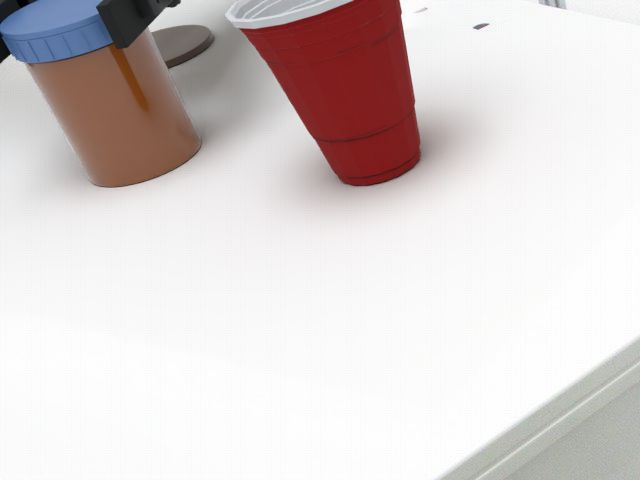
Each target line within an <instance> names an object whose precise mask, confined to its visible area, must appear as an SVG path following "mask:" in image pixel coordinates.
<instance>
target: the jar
mask: <svg viewBox="0 0 640 480" xmlns="http://www.w3.org/2000/svg"><path fill="white" fill-rule="evenodd" d="M151 32H152V31H151V29H150V28H149V26H148V27H147V28H146V29H145V30H144V31H143V32H142V33H141V34H140V35H139V36H138V37H137V38H136V39H135V41H134V42H133V43H132V44H131V45H130V46H129V47H128V48H123V49H116V47H115V45H114V43H110V44H108V45H106V46H103V47H101V48H98V49H95V50H93V51H90V52H87V53H84V54H80V55H77V56H74V57H70V58H66V59H61V60H56V61H50V62H42V63H25V62H22V63H23V64H24V66H25V68H26V70H27V71H28V73H29V75H30V77H31V79H32V80H33V83H34V84H35V86H36V88H37V89H38V91H39V93H40V95H41V97H42V98H43V101H44V102H45V104H46V106H47V108H48V110H49V111H50V113H51V115H52V116H53V118H54V120H55V122H56V123H57V126H58V127H59V129H60V131H61V133H62V134H63V136H64V138H65V140H66V142H67V143H68V145H69V147H70V149H71V150H72V152H73V155H74V156H75V158H76V159H77V161H78V163H79V165H80V166H81V168H82V171H83V172H84V173H85V175H86V177H87V179H88V180H89V182H90V183H91V184H93V185H95V186H98V187H104V188H116V187H125V186H131V185H134V184H139V183H142V182H145V181H149V180H151V179H154V178H158V177H159V176H162V175H164V174H167V173H169V172H170V171H173V170H175V169H176V168H178V167H180V166H181V165H184V164H185V163H186V162H187V161H189V160H190V159H191V158H193V157H194V155H196V153H198V151H199V150H200V149H201V146H202V137H201V135H200V134H199V132H198V130H197V127H196V125H195V123H194V120H193V119H192V116H191V115H190V113H189V110H188V108H187V106H186V104H185V102H184V100H183V98H182V95H181V94H180V91H179V89H178V88H177V85H176V83H175V81H174V78H173V76H172V75H171V72H170V70H169V68H167V66H166V64H165V61H164V59H163V57H162V55H161V53H160V51H159V49H158V47H157V44H156V42H155V40H154V38H153V36H152V34H151Z"/></svg>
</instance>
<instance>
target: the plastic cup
mask: <svg viewBox="0 0 640 480" xmlns="http://www.w3.org/2000/svg"><path fill="white" fill-rule="evenodd" d="M402 14H403V10H402V5H401V0H237V1H235V2H234V3H232V4H231V5H230V7H229V8H228V10H227V11H226V12H225V13H224V16H225V18H226V19H227V20H228V21H229V23H230V24H231V25H232V26H233V27H234V28H236V29H239V31H241V33H242V34H244V36H245V37H246V39H247V40H248V42H249V43H251V45H252V46H253V47H254V48H255V49H256V51H257V53H258V55H259V56H260V57H261V58H262V60H263V61H264V62H265V63H266V65H267V66H268V68H269V69H270V72H271V73H272V75H273V76H274V78H275V79H276V81H277V83H278V84H279V86H280V87H281V88H280V89H282V91H283V92H284V94H285V96H286V97H287V99H288V101H289V102H290V104H291V106H292V107H293V109H294V111H295V112H296V114H297V116H298V117H299V119H300V120H301V122H302V124H303V126H304V127H305V129H306V130H307V132H308V134H309V135H310V136H311V137H312V139H313V140H314V141H315V143H316V145H317V146H318V148H319V150H320V152H321V153H322V155H323V156H324V159H325V160H326V162H327V164H328V166H329V167H330V169H331V170H332V172H334V173H335V175H336V176H337V177H338V179H339V180H340V181H341V183H344V184H347V185H350V186H368V185H374V184H379V183H384V182H386V181H389V180H392V179H393V178H394V179H395V178H397V177H399V176H401V175H403V174H404V173H406V172H408V171H409V170H411V169H412V168H413V167H414V166H415V165H416V164H417V163H418V162H419V161H420V159H421V137H420V130H419V125H418V124H419V123H418V119H417V112H416V106H415V105H416V97H415V91H414V85H413V78H412V73H411V72H412V71H411V66H410V59H409V54H408V49H407V43H406V37H405V31H404V24H403V18H402Z"/></svg>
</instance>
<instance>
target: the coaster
mask: <svg viewBox="0 0 640 480" xmlns="http://www.w3.org/2000/svg"><path fill="white" fill-rule="evenodd" d="M150 32H151V34H152V36H153V38H154V40H155V42H156V44H157V47H158V49H159V51H160V53H161V55H162V57H163V59H164V61H165V64H166V66H167V68H168V69H170V68H173V67H176V66H178V65H180V64H183V63H185V62H187V61H189V60H191V59H192V58H194V57H196V56H198V55H199V54H201V53H202V52H203V51H205V50H206V49H207V48H208V47H209V46H210V45H211V44H212V42H213V39H214V36H213V33H212V32H211V29H210V28H208V26H206V25H200V24H182V25H177V26H176V25H175V26H170V27H165V28H162V29H158V30H154V31H150Z"/></svg>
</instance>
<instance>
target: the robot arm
mask: <svg viewBox="0 0 640 480" xmlns="http://www.w3.org/2000/svg"><path fill="white" fill-rule="evenodd" d="M36 1H38V0H0V24H1V23H2V22H3V21H4V20H5V19H6V18H7V17H8V16H10V15H11V14H13V13H14V12H16V11H18V10H19V9H21V8H23V7H25V6H27V5H29V4H31V3H33V2H36ZM181 3H182V0H103V1H102V2H100V3H99V4H98V5H97V6H96V9H97V11H98V13H99V15H100V17H101V19H102V21H103V23H104V25H105V27H106V29H107V31H108V33H109V35H110V37H111V39H112V41H113V43H114V45H115V47H116V49H123V48H128V47H129V46H130V45H131V44H132V43H133V42H134V41H135V39H136V38H137V37H138V36H139V35H140V34H141V33H142V32H143V31H144V30H145V29H146V28H147V27H149V26H150V25H151V24H152V23H153V22H154V21H155V20H156V19H157V18H158V17H159V16H160V15H161V14H162V13H163V11H164V10H165V9H166V8H171V9H172V8H175V7H177V6H178V5H180V4H181ZM2 37H3V36H2V34H1V32H0V64H2V63H3V62H4V61H5V60H7V59H8V58H9V57H10V56H12V54H11V53H10V51H9V49H8V47H7V45H6V44H5V42H4V40H3V38H2Z"/></svg>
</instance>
